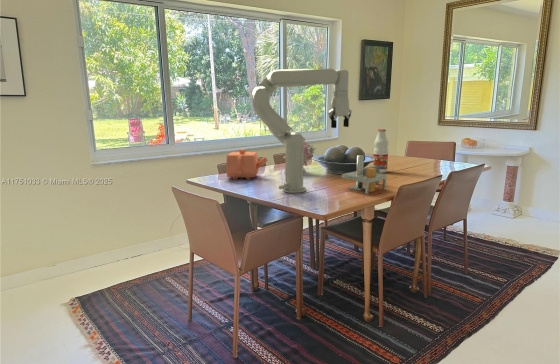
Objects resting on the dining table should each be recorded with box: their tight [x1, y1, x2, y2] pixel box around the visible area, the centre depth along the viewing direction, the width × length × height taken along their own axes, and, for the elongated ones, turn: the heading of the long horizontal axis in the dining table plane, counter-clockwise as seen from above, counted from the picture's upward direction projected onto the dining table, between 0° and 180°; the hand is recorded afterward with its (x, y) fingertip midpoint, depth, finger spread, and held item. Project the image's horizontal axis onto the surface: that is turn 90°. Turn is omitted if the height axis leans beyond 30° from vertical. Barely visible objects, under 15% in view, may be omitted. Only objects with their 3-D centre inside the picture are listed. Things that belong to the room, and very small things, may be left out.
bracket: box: [363, 165, 380, 186], centre depth 210 cm, size 14×2×10 cm, turn 129°
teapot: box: [225, 148, 269, 180], centre depth 235 cm, size 25×23×18 cm
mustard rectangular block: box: [366, 167, 376, 193], centre depth 199 cm, size 4×4×12 cm
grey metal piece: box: [341, 154, 387, 195], centre depth 202 cm, size 16×18×18 cm
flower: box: [282, 136, 316, 173], centre depth 246 cm, size 20×22×24 cm
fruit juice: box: [372, 128, 389, 174], centre depth 246 cm, size 9×9×28 cm
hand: (339, 127), depth 200 cm, fingers open, 9 cm apart
